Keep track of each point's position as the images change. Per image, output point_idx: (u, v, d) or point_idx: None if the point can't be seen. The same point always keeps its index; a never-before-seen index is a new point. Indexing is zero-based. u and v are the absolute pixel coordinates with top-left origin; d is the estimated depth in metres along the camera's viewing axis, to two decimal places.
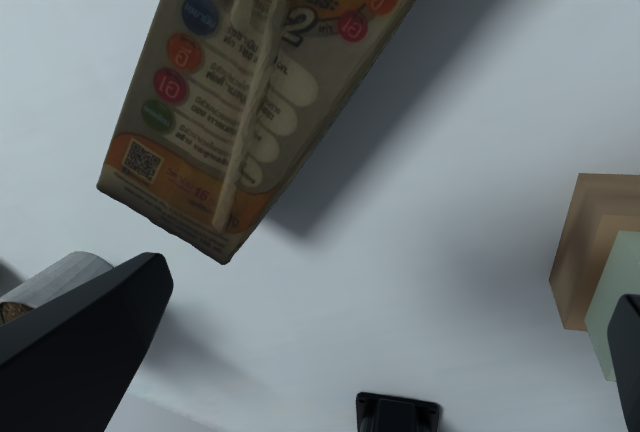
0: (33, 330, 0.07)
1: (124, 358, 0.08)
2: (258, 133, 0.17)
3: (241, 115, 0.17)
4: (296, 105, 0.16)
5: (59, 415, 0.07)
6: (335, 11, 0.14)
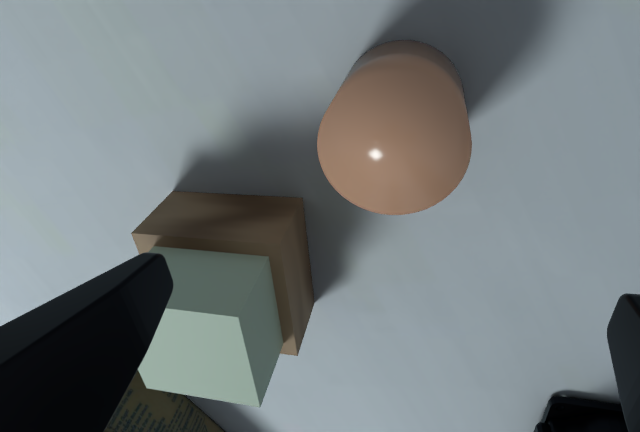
0: (33, 330, 0.07)
1: (124, 358, 0.08)
2: None
3: None
4: None
5: (59, 415, 0.07)
6: None
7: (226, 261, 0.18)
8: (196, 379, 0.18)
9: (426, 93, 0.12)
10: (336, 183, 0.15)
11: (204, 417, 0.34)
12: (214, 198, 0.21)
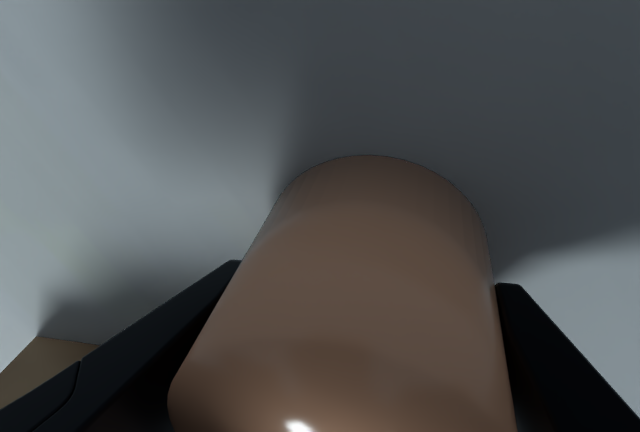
0: (143, 346, 0.06)
1: None
2: None
3: None
4: None
5: None
6: None
7: None
8: None
9: (409, 386, 0.05)
10: None
11: None
12: None
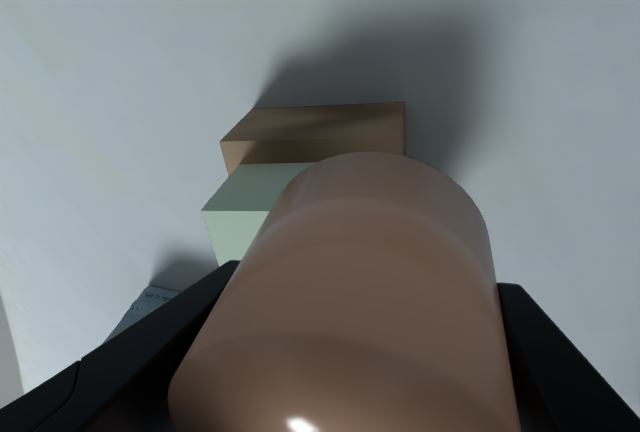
0: (143, 346, 0.06)
1: None
2: None
3: None
4: None
5: None
6: None
7: None
8: None
9: (411, 381, 0.05)
10: None
11: None
12: (302, 109, 0.19)
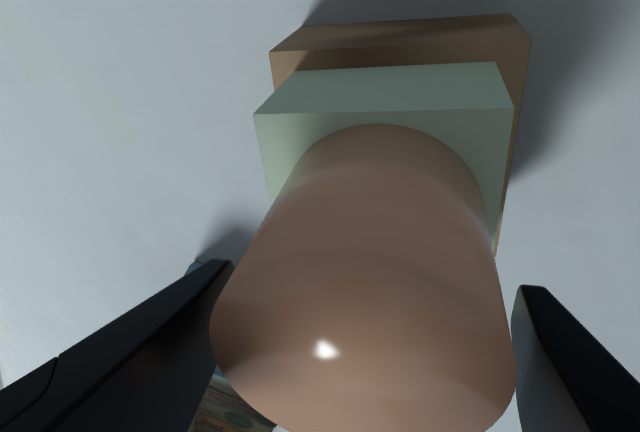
0: (121, 342, 0.07)
1: (200, 369, 0.08)
2: None
3: None
4: None
5: None
6: None
7: (428, 70, 0.11)
8: None
9: (422, 287, 0.06)
10: (255, 401, 0.08)
11: None
12: (371, 24, 0.14)
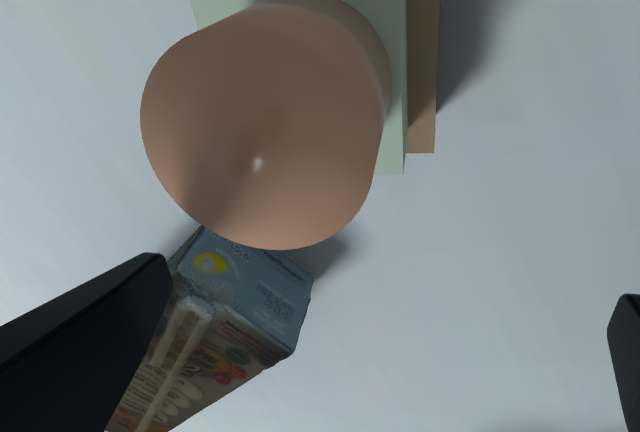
0: (33, 330, 0.07)
1: (124, 358, 0.08)
2: (165, 402, 0.27)
3: (154, 397, 0.26)
4: (189, 398, 0.26)
5: (59, 415, 0.07)
6: (212, 370, 0.24)
7: None
8: None
9: (290, 56, 0.07)
10: (185, 203, 0.10)
11: None
12: None
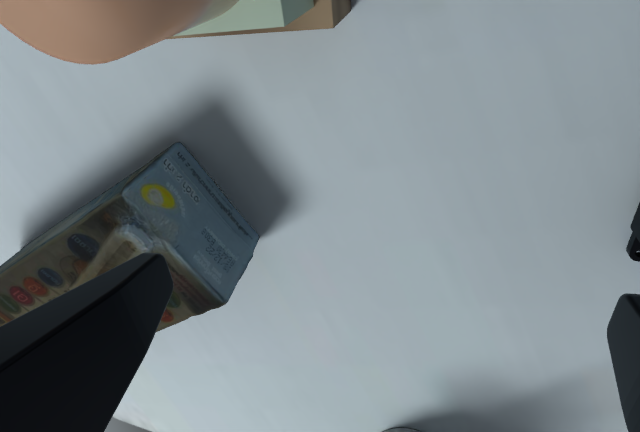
0: (33, 330, 0.07)
1: (124, 358, 0.08)
2: None
3: None
4: None
5: (59, 415, 0.07)
6: None
7: None
8: None
9: None
10: None
11: None
12: None
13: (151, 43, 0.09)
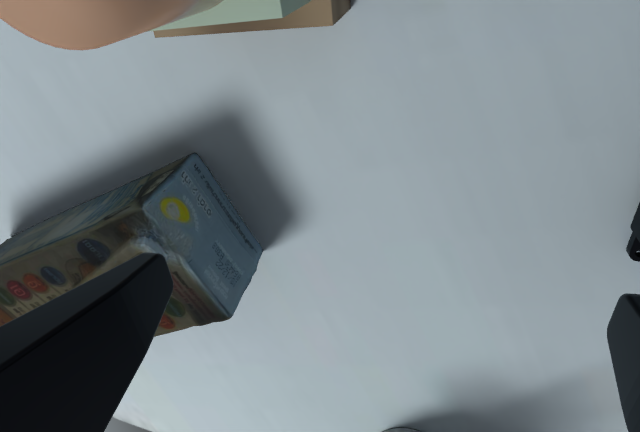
0: (33, 330, 0.07)
1: (124, 358, 0.08)
2: None
3: None
4: None
5: (59, 415, 0.07)
6: None
7: None
8: None
9: None
10: None
11: None
12: None
13: (143, 29, 0.09)
